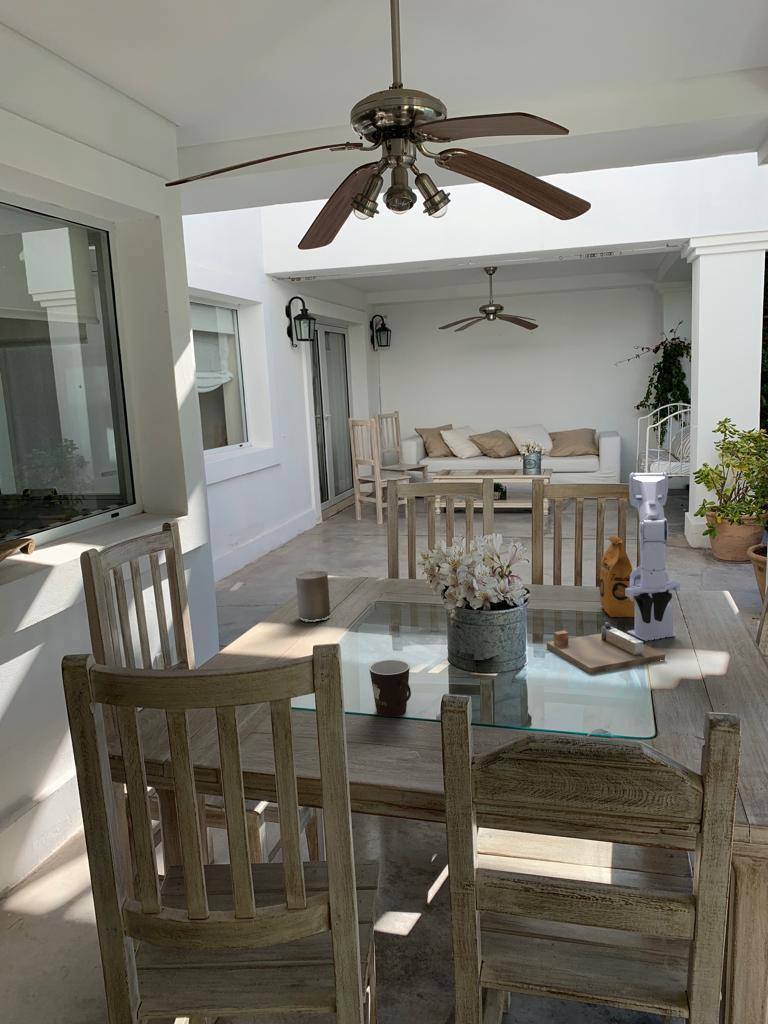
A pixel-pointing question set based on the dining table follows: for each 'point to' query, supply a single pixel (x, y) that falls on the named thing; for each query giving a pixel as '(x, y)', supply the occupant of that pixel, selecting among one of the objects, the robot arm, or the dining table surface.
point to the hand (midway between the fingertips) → (652, 621)
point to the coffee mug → (390, 687)
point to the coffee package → (616, 581)
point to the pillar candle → (313, 595)
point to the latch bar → (621, 639)
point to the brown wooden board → (599, 653)
